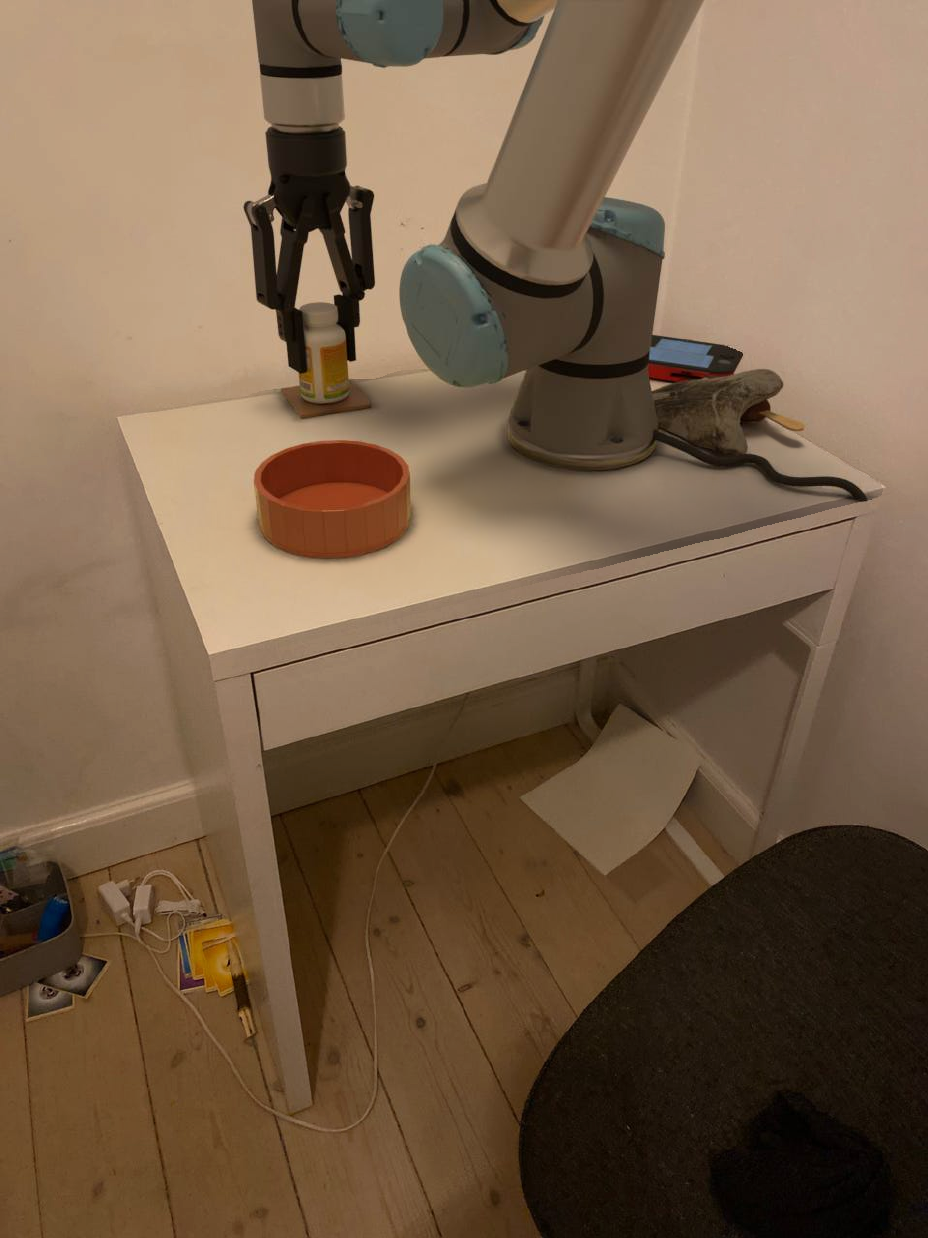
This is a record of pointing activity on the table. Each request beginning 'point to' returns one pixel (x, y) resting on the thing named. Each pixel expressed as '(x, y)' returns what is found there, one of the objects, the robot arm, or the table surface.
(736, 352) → the game console
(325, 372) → the supplement bottle
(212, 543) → the table surface
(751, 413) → the ice cream bar
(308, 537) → the terracotta planter dish
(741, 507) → the table surface
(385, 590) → the table surface
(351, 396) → the coaster
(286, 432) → the table surface
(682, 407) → the fossil
